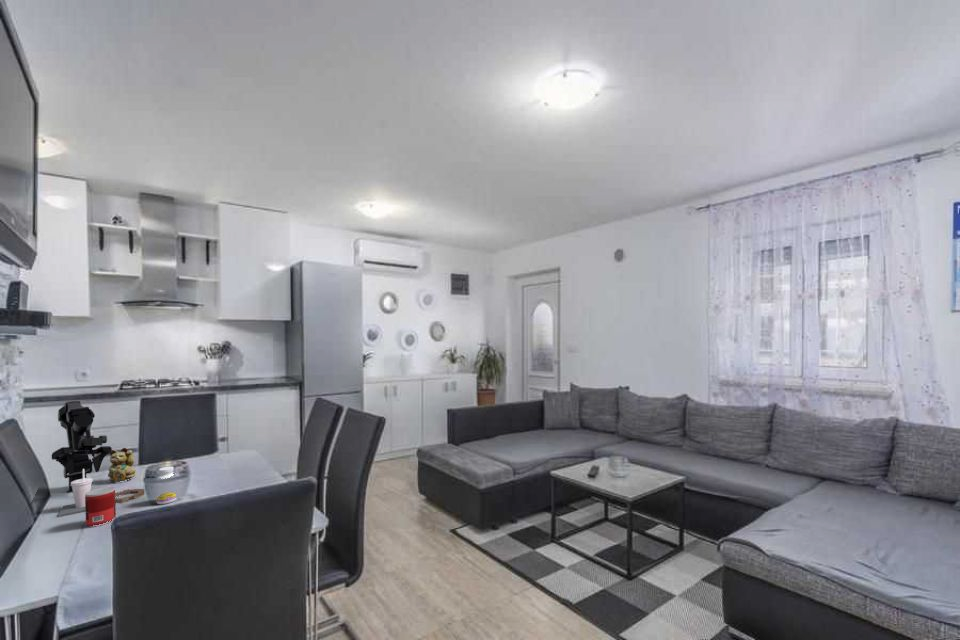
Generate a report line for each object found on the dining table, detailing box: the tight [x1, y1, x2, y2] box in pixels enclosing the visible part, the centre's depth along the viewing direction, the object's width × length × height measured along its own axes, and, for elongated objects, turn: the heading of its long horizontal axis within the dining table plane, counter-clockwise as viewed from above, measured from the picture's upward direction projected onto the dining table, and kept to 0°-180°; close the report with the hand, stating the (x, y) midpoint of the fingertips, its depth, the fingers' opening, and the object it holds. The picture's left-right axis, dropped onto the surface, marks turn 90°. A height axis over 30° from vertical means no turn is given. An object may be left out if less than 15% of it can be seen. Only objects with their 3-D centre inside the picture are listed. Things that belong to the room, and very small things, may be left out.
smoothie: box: [71, 469, 94, 508], centre depth 168 cm, size 6×6×14 cm
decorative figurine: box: [107, 447, 136, 482], centre depth 199 cm, size 10×8×15 cm
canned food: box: [84, 486, 117, 527], centre depth 153 cm, size 8×8×11 cm
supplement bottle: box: [155, 466, 178, 505], centre depth 170 cm, size 7×7×13 cm
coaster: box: [57, 502, 86, 517], centre depth 168 cm, size 12×12×1 cm
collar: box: [115, 488, 145, 504], centre depth 177 cm, size 15×12×1 cm
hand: (85, 472), depth 176 cm, fingers open, 9 cm apart
